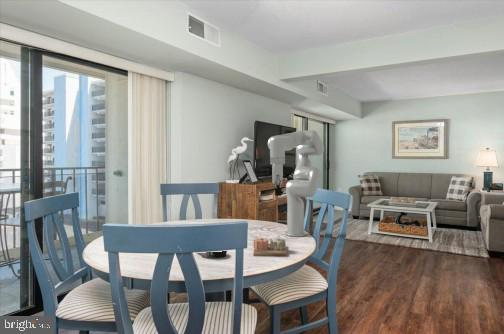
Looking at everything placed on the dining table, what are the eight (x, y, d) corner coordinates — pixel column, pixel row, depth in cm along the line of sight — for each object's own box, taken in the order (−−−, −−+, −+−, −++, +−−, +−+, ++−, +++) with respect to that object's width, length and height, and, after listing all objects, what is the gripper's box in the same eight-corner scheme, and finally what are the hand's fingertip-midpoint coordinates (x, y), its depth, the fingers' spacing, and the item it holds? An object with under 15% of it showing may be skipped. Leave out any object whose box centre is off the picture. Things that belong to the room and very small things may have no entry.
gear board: (255, 245, 173) (255, 234, 173) (285, 246, 172) (285, 234, 172) (253, 255, 155) (253, 243, 155) (286, 256, 154) (286, 243, 154)
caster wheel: (227, 260, 157) (214, 263, 148) (209, 251, 162) (195, 253, 154) (231, 246, 157) (218, 248, 148) (212, 238, 162) (199, 239, 154)
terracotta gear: (254, 246, 168) (254, 237, 168) (268, 246, 167) (268, 238, 167) (253, 249, 161) (253, 241, 161) (267, 250, 160) (267, 241, 160)
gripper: (270, 160, 185) (271, 191, 186) (269, 162, 167) (270, 197, 169) (284, 159, 184) (285, 191, 185) (285, 162, 167) (286, 196, 168)
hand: (278, 194), depth 177 cm, fingers open, 9 cm apart
